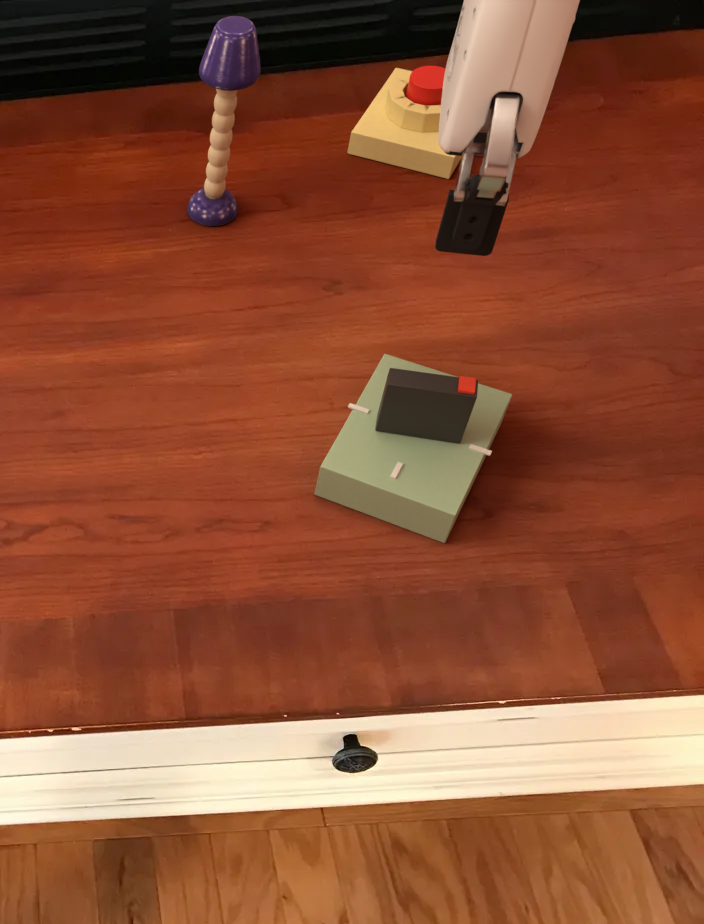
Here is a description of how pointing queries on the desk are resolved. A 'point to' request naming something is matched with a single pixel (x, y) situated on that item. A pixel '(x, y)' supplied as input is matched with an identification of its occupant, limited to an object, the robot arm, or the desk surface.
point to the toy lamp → (224, 112)
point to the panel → (408, 461)
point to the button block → (402, 131)
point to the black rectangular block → (426, 405)
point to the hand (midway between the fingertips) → (465, 200)
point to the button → (426, 85)
